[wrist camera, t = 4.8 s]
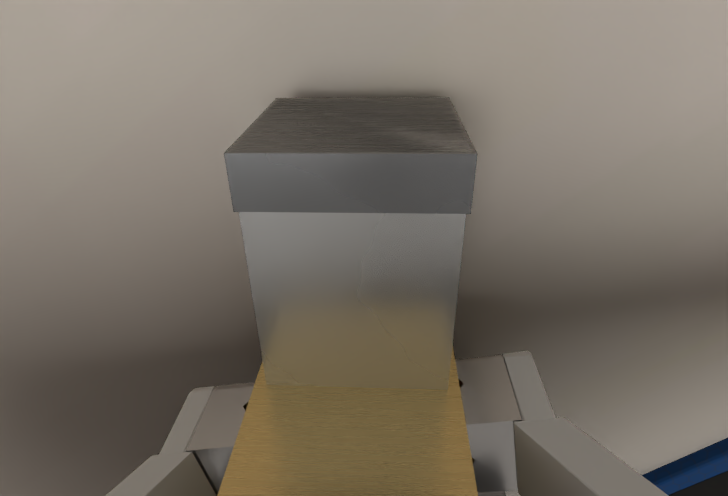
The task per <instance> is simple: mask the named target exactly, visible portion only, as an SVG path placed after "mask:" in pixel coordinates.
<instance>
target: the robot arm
mask: <svg viewBox="0 0 728 496" xmlns="http://www.w3.org/2000/svg"><path fill="white" fill-rule="evenodd" d="M455 362H456V368H457V374H458V380H459V386H460V392H461V398H462V404H463V410H464V415H465V421H466V427H467V433H468V439H469V445H470V451H471V457H472V462H473V468H474V474H475V480H476V486H477V492H495V491H517V490H518V493H519V494H520V495H521V496H668V495H667V494H666V493H664V492H663V491H662V490H660V489H659V488H658V487H656V486H655V485H654V484H652V483H651V482H650V481H648V480H647V479H646V478H644V477H643V476H642V475H641V474H639V473H638V472H637V471H635V470H634V469H633V468H631V467H630V466H629V465H627V464H626V463H625V462H623V461H622V460H621V459H619V458H618V457H617V456H615V455H614V454H613V453H611V452H610V451H609V450H607V449H606V448H605V447H603V446H602V445H601V444H599V443H598V442H597V441H595V440H594V439H593V438H591V437H590V436H589V435H587V434H586V433H585V432H583V431H582V430H581V429H579V428H578V427H577V426H575V425H574V424H573V423H571V422H570V421H569V420H567V419H566V418H565V417H563V418H556V417H555V414H554V411H553V409H552V406H551V404H550V401H549V398H548V396H547V393H546V390H545V388H544V385H543V383H542V380H541V377H540V375H539V372H538V370H537V367H536V364H535V362H534V359H533V357H532V354H531V353H530V352H529V351H520V352H512V353H504V354H502V355H501V354H498V355H490V356H482V357H473V358H465V359H457V360H455ZM254 384H255V382H251V383H239V384H228V385H217V386H211V387H198V388H194V389H193V390H192V391H191V392H190V393H189V394H188V396H187V398H186V400H185V402H184V404H183V406H182V408H181V410H180V413H179V415H178V417H177V419H176V421H175V423H174V425H173V427H172V429H171V431H170V433H169V435H168V437H167V439H166V441H165V443H164V445H163V447H162V449H161V451H160V453H159V455H152V456H151V457H149V458H148V459H147V460H146V461H145V462H144V463H142V464H141V465H140V466H139V467H138V468H137V469H136V470H134V471H133V472H132V473H131V474H130V475H129V476H127V477H126V478H125V479H124V480H123V481H122V482H120V483H119V484H118V485H117V486H116V487H115V488H114V489H112V490H111V491H110V492H109V493H108V494H107V495H105V496H217V495H218V492H219V489H220V486H221V483H222V480H223V477H224V474H225V471H226V468H227V465H228V462H229V459H230V456H231V453H232V450H233V447H234V444H235V441H236V438H237V435H238V432H239V429H240V426H241V423H242V420H243V417H244V414H245V411H246V408H247V405H248V402H249V399H250V396H251V393H252V390H253V387H254Z"/></svg>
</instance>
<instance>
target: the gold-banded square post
mask: <svg viewBox="0 0 728 496" xmlns="http://www.w3.org/2000/svg"><path fill="white" fill-rule="evenodd" d="M224 156H225V162H226V168H227V175H228V181H229V187H230V193H231V199H232V205H233V211H234V212H239V217H240V223H241V229H242V236H243V242H244V248H245V254H246V261H247V267H248V273H249V279H250V286H251V292H252V298H253V304H254V311H255V317H256V323H257V330H258V336H259V342H260V348H261V355H262V363H261V366H260V369H259V372H258V375H257V378H256V381H255V384H254V387H253V390H252V393H251V396H250V399H249V402H248V405H247V408H246V411H245V414H244V417H243V420H242V423H241V426H240V429H239V432H238V435H237V438H236V441H235V444H234V447H233V450H232V453H231V456H230V459H229V462H228V465H227V468H226V471H225V474H224V477H223V480H222V483H221V486H220V489H219V492H218V495H217V496H478V492H477V486H476V480H475V474H474V468H473V462H472V457H471V451H470V445H469V439H468V433H467V427H466V421H465V415H464V410H463V404H462V398H461V392H460V386H459V380H458V374H457V368H456V362H455V357H454V351H453V335H454V326H455V316H456V306H457V297H458V287H459V277H460V268H461V258H462V249H463V239H464V229H465V220H466V214H471V207H472V198H473V189H474V179H475V170H476V161H477V152H476V150H475V148H474V146H473V144H472V142H471V140H470V138H469V136H468V134H467V132H466V130H465V128H464V126H463V124H462V122H461V120H460V118H459V116H458V114H457V112H456V110H455V108H454V106H453V104H452V102H451V100H450V98H276V99H275V100H274V101H273V102H272V103H271V104H270V105H269V106H268V108H267V109H266V110H265V111H264V112H263V113H262V114H261V115H260V116H259V117H258V118H257V119H256V120H255V121H254V122H253V123H252V124H251V125H250V126H249V127H248V128H247V130H246V131H245V132H244V133H243V134H242V135H241V136H240V137H239V138H238V139H237V140H236V141H235V142H234V143H233V144H232V145H231V146H230V147H229V148H228V149H227V151H226V152H225V153H224Z"/></svg>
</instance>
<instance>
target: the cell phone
mask: <svg viewBox="0 0 728 496" xmlns="http://www.w3.org/2000/svg"><path fill="white" fill-rule="evenodd" d="M642 476H643V477H644V478H646V479H647V480H648V481H650V482H651V483H652V484H654V485H655V486H656V487H658V488H659V489H660V490H662V491H663V492H664V493H666V494H667V495H668V496H728V438H726V439H724V440H722V441H720V442H717V443H715V444H713V445H710V446H708V447H706V448H704V449H701V450H699V451H697V452H694V453H692V454H690V455H687V456H685V457H683V458H681V459H678V460H676V461H674V462H671V463H669V464H667V465H665V466H662V467H660V468H658V469H655V470H653V471H651V472H649V473H646V474H644V475H642Z"/></svg>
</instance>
